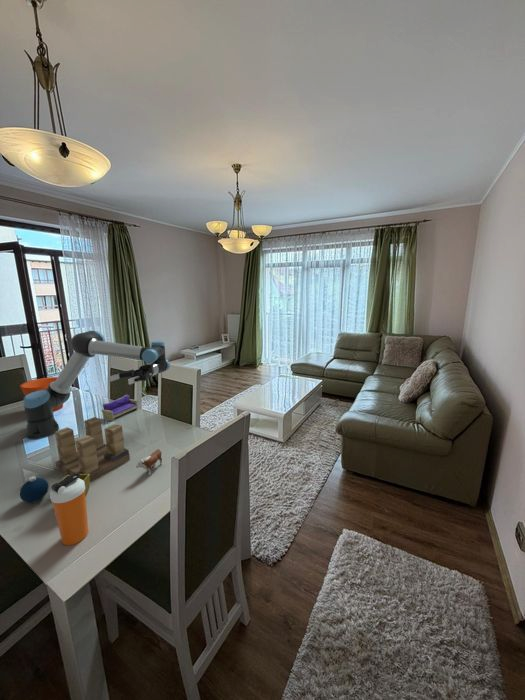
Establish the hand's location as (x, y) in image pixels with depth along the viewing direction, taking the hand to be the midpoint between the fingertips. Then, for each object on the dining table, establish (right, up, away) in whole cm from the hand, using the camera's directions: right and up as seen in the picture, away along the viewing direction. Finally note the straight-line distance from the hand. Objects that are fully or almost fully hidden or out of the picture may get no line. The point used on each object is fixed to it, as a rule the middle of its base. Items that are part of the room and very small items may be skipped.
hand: (118, 380), depth 142 cm
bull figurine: (+25, -38, -19) cm, 49 cm away
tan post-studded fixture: (-4, -37, -14) cm, 39 cm away
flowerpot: (-75, -26, +51) cm, 95 cm away
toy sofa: (-19, -27, +41) cm, 53 cm away
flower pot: (+4, -42, -38) cm, 57 cm away
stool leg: (+6, -33, -13) cm, 36 cm away
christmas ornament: (-12, -41, -36) cm, 56 cm away
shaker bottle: (+14, -44, -53) cm, 70 cm away
